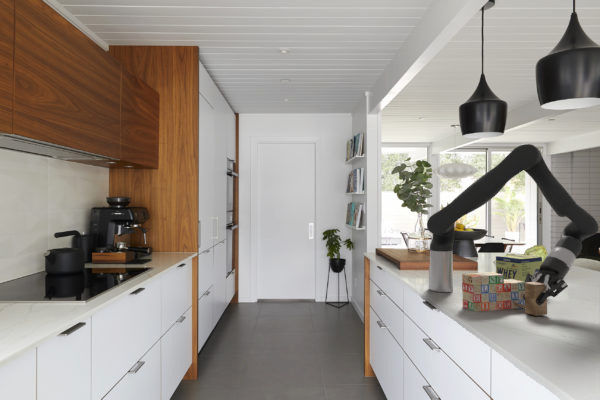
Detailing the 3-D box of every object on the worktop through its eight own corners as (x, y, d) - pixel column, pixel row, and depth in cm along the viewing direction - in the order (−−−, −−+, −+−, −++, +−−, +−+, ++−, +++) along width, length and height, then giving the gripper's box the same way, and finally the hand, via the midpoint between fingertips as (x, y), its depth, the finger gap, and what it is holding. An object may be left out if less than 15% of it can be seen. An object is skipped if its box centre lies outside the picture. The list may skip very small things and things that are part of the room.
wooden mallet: (510, 308, 134) (509, 279, 134) (520, 306, 136) (520, 278, 136) (535, 315, 124) (535, 285, 125) (547, 314, 126) (546, 283, 126)
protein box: (495, 293, 160) (495, 256, 160) (518, 289, 167) (518, 253, 167) (519, 298, 150) (519, 258, 151) (543, 294, 158) (542, 256, 158)
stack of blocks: (513, 303, 143) (512, 270, 143) (526, 308, 136) (525, 273, 137) (462, 307, 138) (461, 272, 138) (473, 311, 132) (473, 275, 132)
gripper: (533, 253, 137) (507, 289, 132) (572, 258, 123) (545, 299, 119) (544, 267, 138) (519, 304, 134) (584, 274, 125) (558, 314, 121)
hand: (531, 301), depth 127 cm, fingers closed on wooden mallet, 4 cm apart
